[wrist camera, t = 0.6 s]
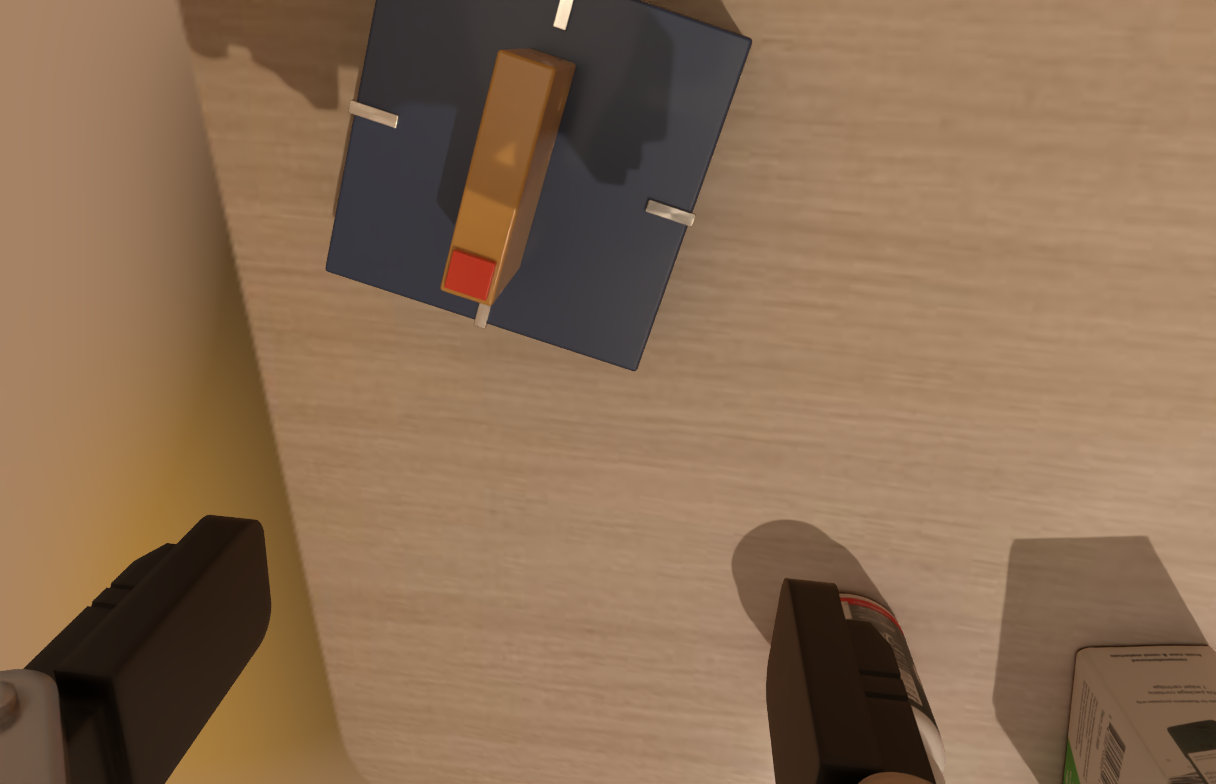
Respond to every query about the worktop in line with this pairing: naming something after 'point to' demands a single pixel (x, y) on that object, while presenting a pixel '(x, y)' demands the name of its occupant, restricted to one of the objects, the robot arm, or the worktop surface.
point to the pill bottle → (902, 674)
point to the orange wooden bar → (506, 172)
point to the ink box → (1143, 716)
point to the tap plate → (578, 168)
